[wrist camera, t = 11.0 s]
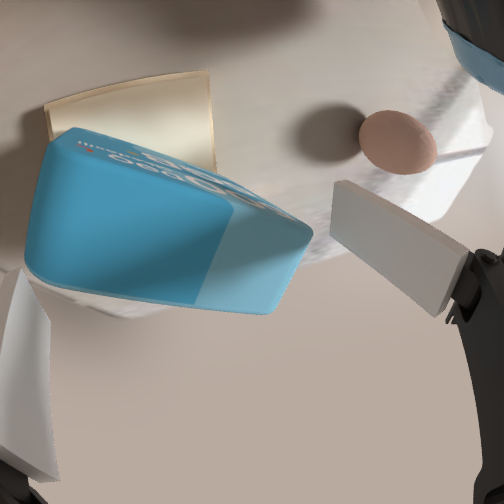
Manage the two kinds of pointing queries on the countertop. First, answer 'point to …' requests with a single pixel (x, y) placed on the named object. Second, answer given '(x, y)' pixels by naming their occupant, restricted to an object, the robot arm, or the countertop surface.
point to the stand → (146, 115)
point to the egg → (397, 143)
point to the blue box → (156, 229)
